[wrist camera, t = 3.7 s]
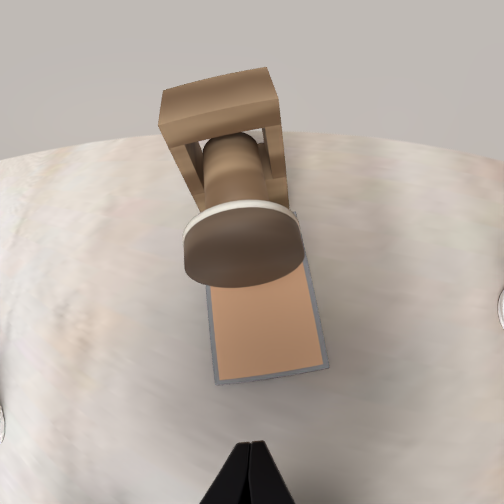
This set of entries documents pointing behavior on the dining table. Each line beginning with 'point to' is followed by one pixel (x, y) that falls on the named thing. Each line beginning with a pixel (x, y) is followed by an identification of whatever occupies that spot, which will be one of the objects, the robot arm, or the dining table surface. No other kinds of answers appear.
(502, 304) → the chess piece
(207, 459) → the dining table surface
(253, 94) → the block
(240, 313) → the board
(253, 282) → the peg
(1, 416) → the white cup
